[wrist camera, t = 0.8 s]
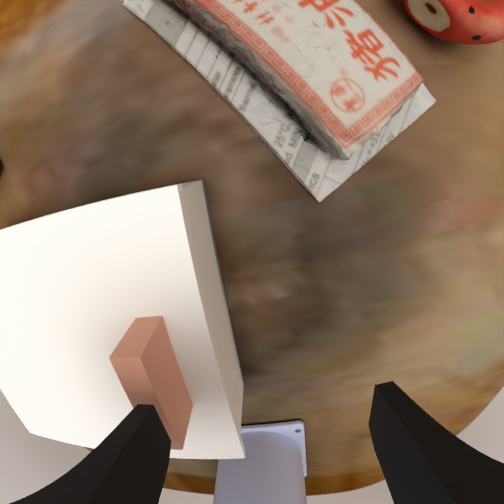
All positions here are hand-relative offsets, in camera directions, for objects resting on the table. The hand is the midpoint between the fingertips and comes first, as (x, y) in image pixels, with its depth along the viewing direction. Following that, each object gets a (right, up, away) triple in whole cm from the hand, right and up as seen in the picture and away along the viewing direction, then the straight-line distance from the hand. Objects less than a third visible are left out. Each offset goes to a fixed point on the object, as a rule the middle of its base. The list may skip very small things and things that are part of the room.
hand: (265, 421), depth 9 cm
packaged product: (+1, +18, +6) cm, 19 cm away
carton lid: (-10, 0, +5) cm, 11 cm away
